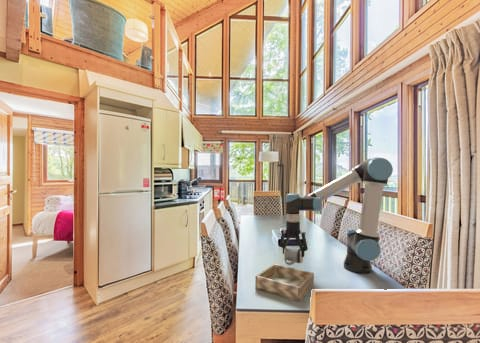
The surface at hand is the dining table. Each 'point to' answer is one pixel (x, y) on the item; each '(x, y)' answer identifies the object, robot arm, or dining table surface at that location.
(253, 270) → the dining table surface
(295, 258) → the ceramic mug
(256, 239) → the dining table surface
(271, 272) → the walled box
